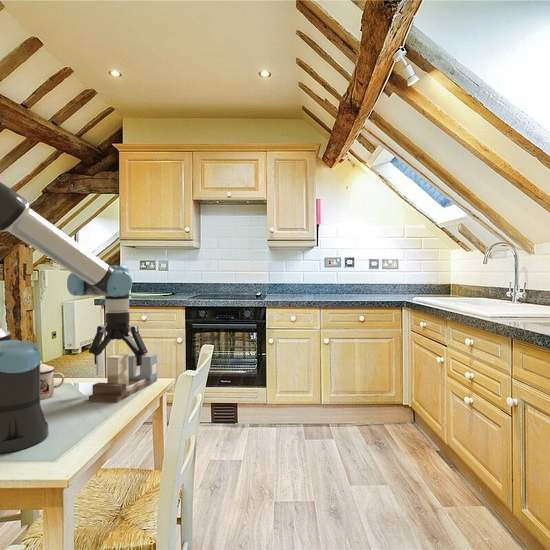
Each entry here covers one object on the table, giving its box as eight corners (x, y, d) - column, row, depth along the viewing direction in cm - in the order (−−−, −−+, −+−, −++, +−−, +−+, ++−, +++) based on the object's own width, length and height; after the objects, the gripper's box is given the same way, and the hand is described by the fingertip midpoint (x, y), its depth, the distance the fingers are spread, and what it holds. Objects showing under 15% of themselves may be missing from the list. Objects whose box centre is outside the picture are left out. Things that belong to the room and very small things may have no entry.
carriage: (118, 391, 132) (118, 357, 132) (107, 390, 132) (107, 357, 132) (128, 386, 137) (128, 354, 137) (117, 385, 138) (117, 353, 138)
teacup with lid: (20, 402, 126) (19, 365, 126) (25, 394, 135) (24, 360, 135) (63, 397, 131) (62, 361, 131) (65, 390, 139) (65, 356, 139)
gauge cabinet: (151, 384, 146) (150, 356, 146) (125, 383, 148) (125, 356, 148) (157, 380, 151) (157, 354, 151) (132, 379, 153) (132, 353, 153)
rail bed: (117, 402, 126) (117, 387, 126) (88, 400, 127) (88, 386, 127) (157, 380, 151) (157, 368, 151) (132, 379, 153) (132, 367, 153)
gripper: (157, 310, 136) (157, 373, 136) (91, 310, 141) (92, 370, 141) (145, 312, 129) (146, 379, 129) (76, 312, 134) (77, 376, 134)
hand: (118, 374), depth 135 cm, fingers open, 13 cm apart
